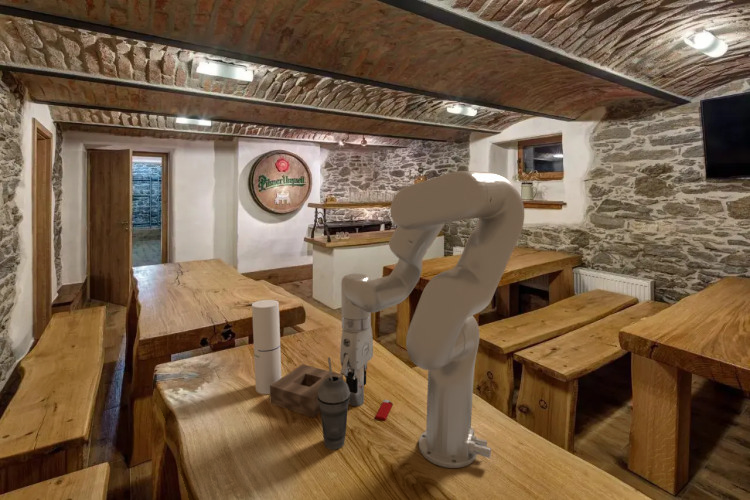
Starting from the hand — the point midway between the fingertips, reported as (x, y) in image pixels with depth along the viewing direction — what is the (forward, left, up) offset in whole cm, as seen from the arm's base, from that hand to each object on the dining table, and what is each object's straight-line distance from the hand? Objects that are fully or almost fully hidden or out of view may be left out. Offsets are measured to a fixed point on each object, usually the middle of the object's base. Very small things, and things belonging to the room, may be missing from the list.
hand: (356, 386), depth 101 cm
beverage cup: (-4, +17, -4) cm, 18 cm away
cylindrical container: (+26, +5, -4) cm, 27 cm away
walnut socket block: (+13, +4, -4) cm, 14 cm away
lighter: (-8, 0, -5) cm, 10 cm away
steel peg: (0, 0, -4) cm, 4 cm away
